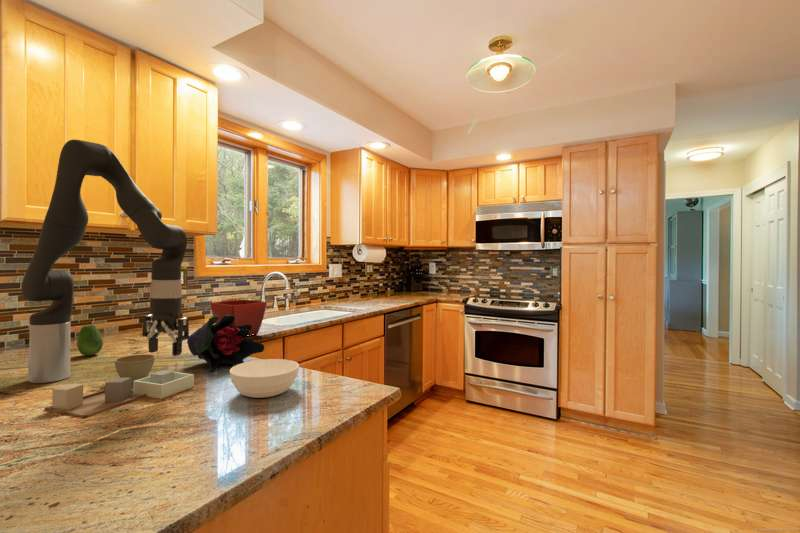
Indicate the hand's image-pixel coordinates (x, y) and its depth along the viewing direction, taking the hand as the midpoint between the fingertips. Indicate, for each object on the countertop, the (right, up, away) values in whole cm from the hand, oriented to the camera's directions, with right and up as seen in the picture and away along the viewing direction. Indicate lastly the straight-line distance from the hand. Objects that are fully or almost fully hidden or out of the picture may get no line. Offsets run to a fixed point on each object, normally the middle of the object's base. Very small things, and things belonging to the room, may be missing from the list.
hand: (164, 353), depth 105 cm
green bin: (0, -11, 0) cm, 11 cm away
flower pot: (-14, -11, +9) cm, 20 cm away
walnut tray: (-10, -11, -10) cm, 18 cm away
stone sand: (-15, -10, -13) cm, 23 cm away
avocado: (-53, -10, +39) cm, 66 cm away
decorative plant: (+5, -11, +26) cm, 29 cm away
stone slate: (0, -10, -1) cm, 10 cm away
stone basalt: (-7, -10, -8) cm, 15 cm away
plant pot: (-14, -10, +81) cm, 83 cm away
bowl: (+28, -11, 0) cm, 30 cm away
